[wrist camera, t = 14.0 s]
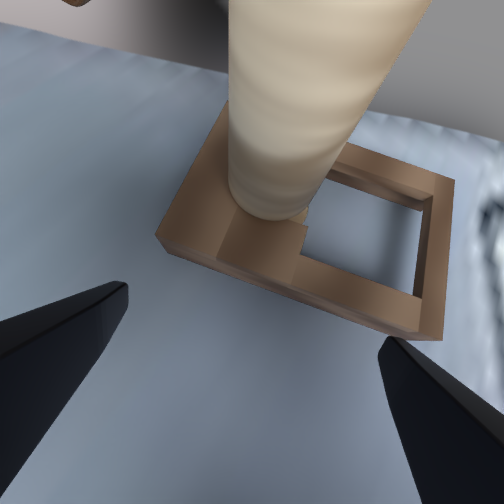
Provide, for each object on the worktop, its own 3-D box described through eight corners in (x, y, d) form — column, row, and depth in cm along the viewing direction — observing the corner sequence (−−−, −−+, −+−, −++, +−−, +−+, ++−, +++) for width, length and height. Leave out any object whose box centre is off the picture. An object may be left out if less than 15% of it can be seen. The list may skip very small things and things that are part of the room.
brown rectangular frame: (421, 202, 19) (454, 179, 16) (403, 340, 16) (442, 340, 13) (227, 134, 20) (227, 100, 17) (167, 252, 16) (154, 234, 13)
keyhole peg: (265, 264, 17) (385, 27, 4) (207, 209, 17) (153, -127, 5) (317, 213, 18) (521, -72, 6) (262, 165, 19) (329, -173, 6)
